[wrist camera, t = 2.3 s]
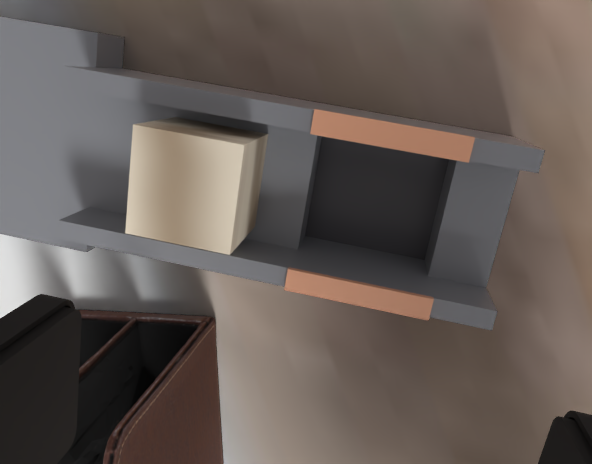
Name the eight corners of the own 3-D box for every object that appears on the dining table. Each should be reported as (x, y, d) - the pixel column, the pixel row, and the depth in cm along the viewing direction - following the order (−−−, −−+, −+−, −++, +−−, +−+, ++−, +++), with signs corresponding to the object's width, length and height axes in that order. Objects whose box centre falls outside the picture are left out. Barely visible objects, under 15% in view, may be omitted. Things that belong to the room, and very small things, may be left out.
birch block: (268, 134, 28) (244, 145, 23) (254, 226, 29) (229, 254, 25) (175, 116, 28) (132, 124, 24) (166, 208, 30) (125, 233, 25)
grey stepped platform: (522, 104, 28) (559, 110, 22) (464, 311, 32) (483, 365, 26) (-69, 4, 32) (-174, -13, 26) (-63, 201, 35) (-154, 226, 29)
